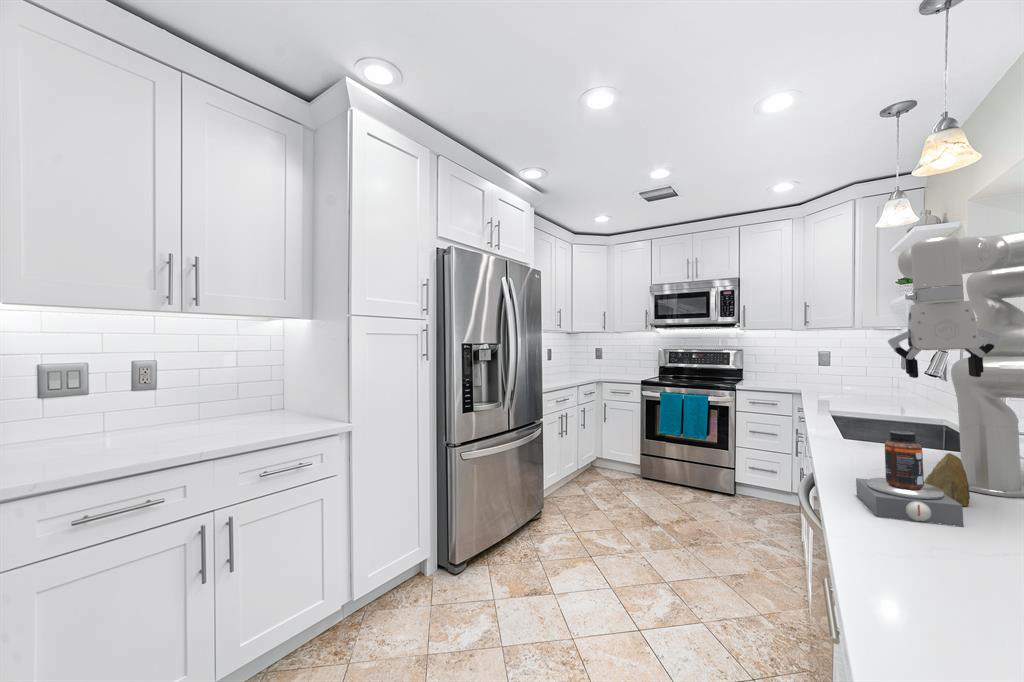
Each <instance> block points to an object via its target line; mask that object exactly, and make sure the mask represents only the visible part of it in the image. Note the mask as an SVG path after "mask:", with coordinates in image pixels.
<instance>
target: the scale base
mask: <svg viewBox="0 0 1024 682" xmlns="http://www.w3.org/2000/svg"><path fill="white" fill-rule="evenodd" d="M868 479H869V478H860V477H859V478H857V477H856V478H855V483H856V484H855V487H856V497H858V498H859V500H860V501H861V502H862V503H863V504H864V505H865V506H866V507H867V508H868V509H869V510H870V511H871V513H872V514H874V515H875V516H876V518H885V519H886V518H887V519H893V520H902V519H903V521H910V520H912V521H911V522H913V521H914V522H919V521H922V522H921V523H927V522H933V523H932V524H936V523H941V524H940V525H944V524H947V525H946V526H953V525H955V527H961V528H962V527H963V528H964V511H963V507H964V506H963V505H961V504H959V503H958V502H956V501H955V500H953V499H952V498H950V497H948V496H947V495H945V494H944V497H943V498H940V499H915V498H907V497H900V496H895V495H890V494H886V493H882V492H879V491H876V490H874V489H871V488H870V487H868V486H867V480H868Z"/></svg>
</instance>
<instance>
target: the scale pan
mask: <svg viewBox="0 0 1024 682" xmlns="http://www.w3.org/2000/svg"><path fill="white" fill-rule="evenodd" d="M867 479H868V480H867V486H868V487H870V488H871V489H874V490H876V491H879V492H882V493H886V494H890V495H895V496H900V497H907V498H915V499H940V498H943V497H944V491H943V490H942V489H940V488H938V487H935V486H932V485H929V484H925V483H924V487H923V488H921V489H907V488H900V487H896V486H893V485H890V484H888V483H887V482H886V477H872V478H867Z"/></svg>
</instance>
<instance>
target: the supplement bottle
mask: <svg viewBox="0 0 1024 682" xmlns="http://www.w3.org/2000/svg"><path fill="white" fill-rule="evenodd" d="M889 437H890V438H889V439H888V440H886V441H885V443H884V464H885V478H886V482H887V483H888V484H890V485H893V486H896V487H900V488H907V489H921V488H923V487H924V481H925V479H924V461H923V460H924V458H923V456H924V455H923V447H922V445H921V444H920V443H917V440H916V433H915V432H912V431H907V430H906V431H905V430H890V431H889Z"/></svg>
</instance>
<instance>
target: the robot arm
mask: <svg viewBox="0 0 1024 682" xmlns="http://www.w3.org/2000/svg"><path fill="white" fill-rule="evenodd" d="M897 258H898V260H897V266H898V270H899V272H900V273H901V274H902V276H904V277H905V278H907V279H910V280H912V286H913V287H912V288H913V290H912V292H909V293H905V294H904V295H905V296H904V297H905V300H906V301H907V300H909V301H912V302H913V304H911V305H910V308H909V313H908V321H907V331H905V332H902V333H900V334H898V335H896V336H894V337H892V338H889V339H887V343H888V344H889V346H890V348H892V349H893V351H894V353H896V354H897V355H899V356H900V357H902V359H904V364H905V366H904V367H905V373H906V374H908V376H909V378H913V379H917V378H919V367H918V365H919V364H918V359H916V358H915V357H916V356H917V355H918V354H919V353H920V352H921V351H945V350H947V351H950V350H964V351H966V352H967V353H968V354H969V355H970V356H968V357H964V358H961V359H959V360H956V361H955V362H954V363H953V364H952V366H951V369H950V377H951V381H952V384H953V388H954V392H955V395H956V396H955V397H956V401H957V402H956V403H957V410H958V412H957V413H958V426H959V427H958V428H959V429H958V431H959V449H960V459H961V462H962V464H963V468H964V470H965V472H966V477H967V481H968V484H969V492H975V493H979V494H984V495H985V494H986V495H989V496H998V497H1007V498H1024V485H1022V470H1021V469H1022V468H1021V453H1020V434H1019V433H1020V431H1019V418H1018V417H1017V414H1016V412H1015V411H1014V410H1013V409H1012V408H1011V407H1010V406H1009V405H1008V404H1007V403H1005V402H1004V401H1003V400H1002V399H1001V398H1004V399H1005V398H1006V399H1008V398H1009V399H1013V398H1014V399H1024V310H1022V309H1020V308H1019V307H1017V306H1016V305H1014V304H1012V303H1010V302H1008V301H1005V300H1003V299H1015V298H1024V230H1019V231H1014V232H1008V233H1001V234H996V235H995V234H994V235H987V236H986V235H984V236H964V237H959V238H957V237H955V236H950V235H949V236H938V237H932V238H927V239H922V240H919V241H917V242H914V243H913V244H912V245H911V246H908V247H906V248H904V250H902V251H901V253H900V254H899V256H898V257H897ZM966 274H970V275H968V278H967V280H966V282H965V283H966V284H965V285H966V286H965V287H966V294H967V297H968V300H965V296H964V295H965V294H964V281H963V279H964V278H963V275H966ZM906 340H907V345H908V347H909V348H908V349H907V350H906V349H904V348H903V347H902V346H901V344H900V343H901V342H902V341H906Z"/></svg>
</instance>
